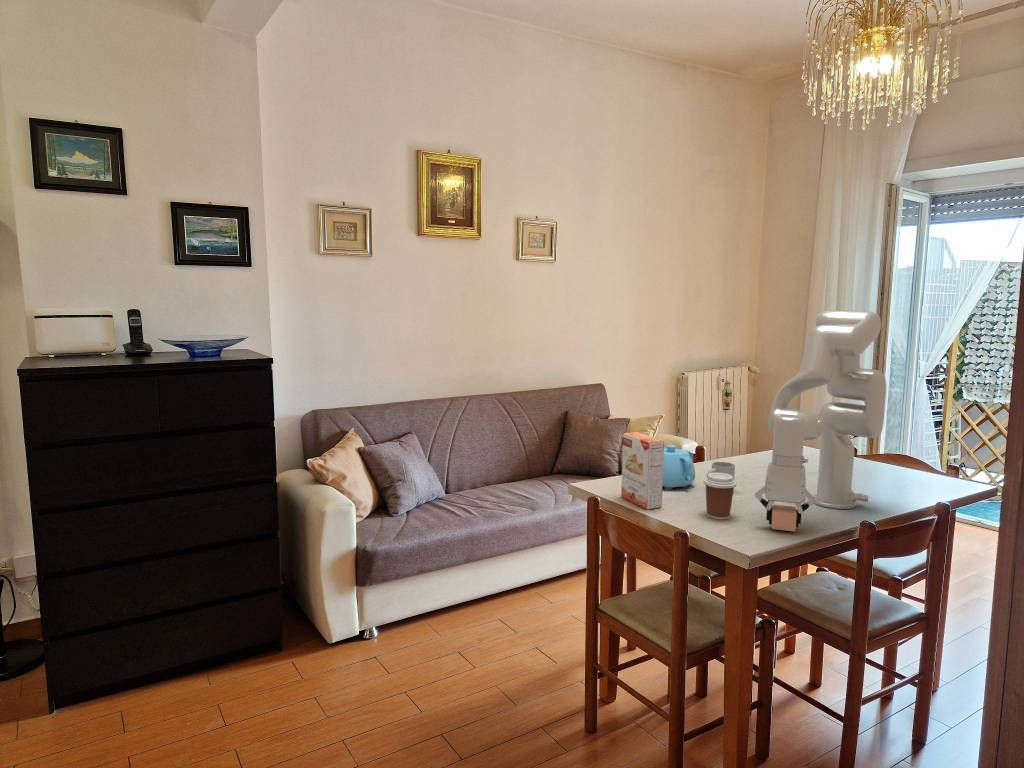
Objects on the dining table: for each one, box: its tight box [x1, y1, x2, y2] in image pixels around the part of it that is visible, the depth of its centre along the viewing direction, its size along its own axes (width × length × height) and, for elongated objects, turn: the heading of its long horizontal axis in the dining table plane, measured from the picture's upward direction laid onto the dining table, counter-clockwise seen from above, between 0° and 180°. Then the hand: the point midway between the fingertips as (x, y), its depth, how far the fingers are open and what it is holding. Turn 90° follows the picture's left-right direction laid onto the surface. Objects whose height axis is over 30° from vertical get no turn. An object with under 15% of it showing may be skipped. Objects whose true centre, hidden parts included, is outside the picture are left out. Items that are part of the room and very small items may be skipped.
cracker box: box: [620, 431, 665, 511], centre depth 202 cm, size 14×6×21 cm, turn 23°
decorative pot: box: [662, 444, 696, 490], centre depth 223 cm, size 16×16×14 cm
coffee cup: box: [703, 473, 737, 520], centre depth 191 cm, size 9×9×12 cm
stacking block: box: [770, 504, 797, 532], centre depth 181 cm, size 6×6×5 cm
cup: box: [705, 461, 736, 481], centre depth 216 cm, size 7×10×9 cm
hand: (783, 523), depth 181 cm, fingers closed on stacking block, 6 cm apart
